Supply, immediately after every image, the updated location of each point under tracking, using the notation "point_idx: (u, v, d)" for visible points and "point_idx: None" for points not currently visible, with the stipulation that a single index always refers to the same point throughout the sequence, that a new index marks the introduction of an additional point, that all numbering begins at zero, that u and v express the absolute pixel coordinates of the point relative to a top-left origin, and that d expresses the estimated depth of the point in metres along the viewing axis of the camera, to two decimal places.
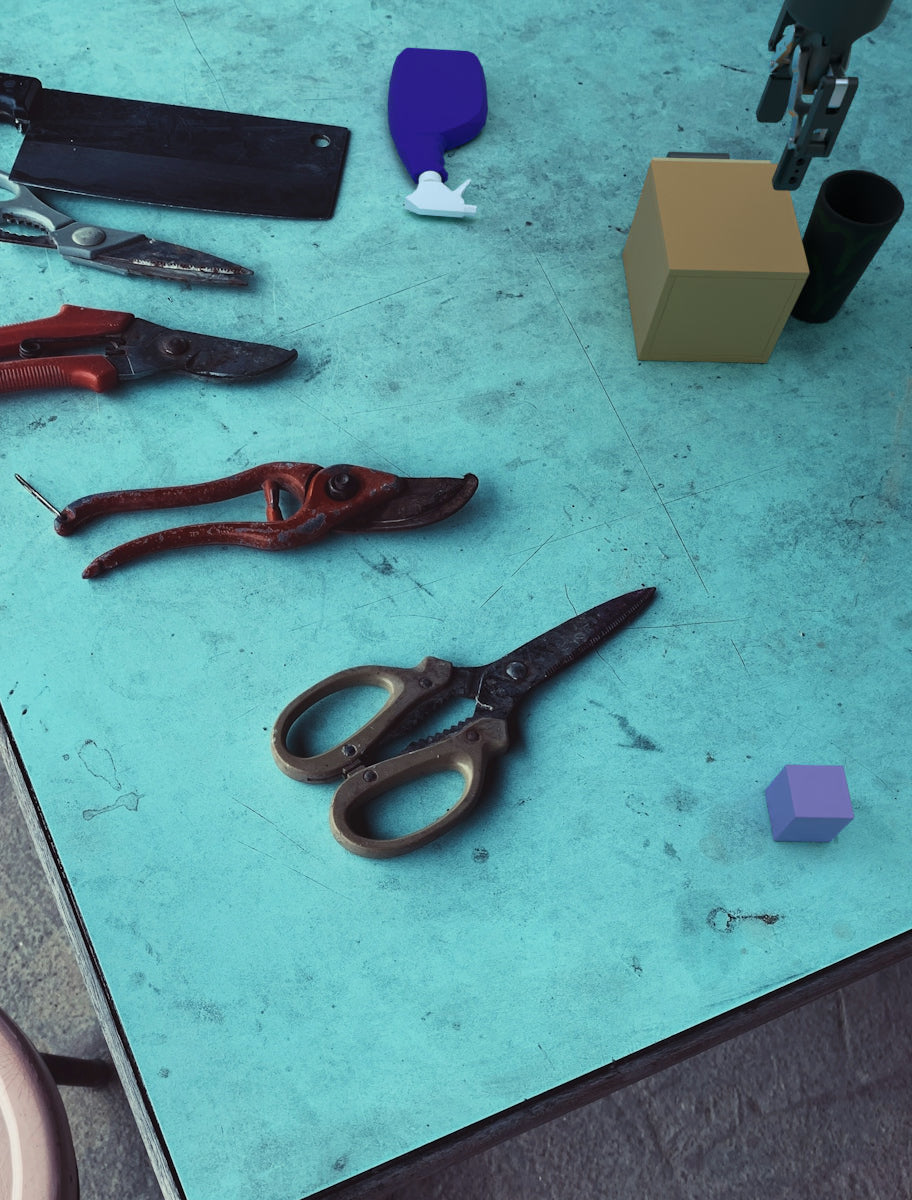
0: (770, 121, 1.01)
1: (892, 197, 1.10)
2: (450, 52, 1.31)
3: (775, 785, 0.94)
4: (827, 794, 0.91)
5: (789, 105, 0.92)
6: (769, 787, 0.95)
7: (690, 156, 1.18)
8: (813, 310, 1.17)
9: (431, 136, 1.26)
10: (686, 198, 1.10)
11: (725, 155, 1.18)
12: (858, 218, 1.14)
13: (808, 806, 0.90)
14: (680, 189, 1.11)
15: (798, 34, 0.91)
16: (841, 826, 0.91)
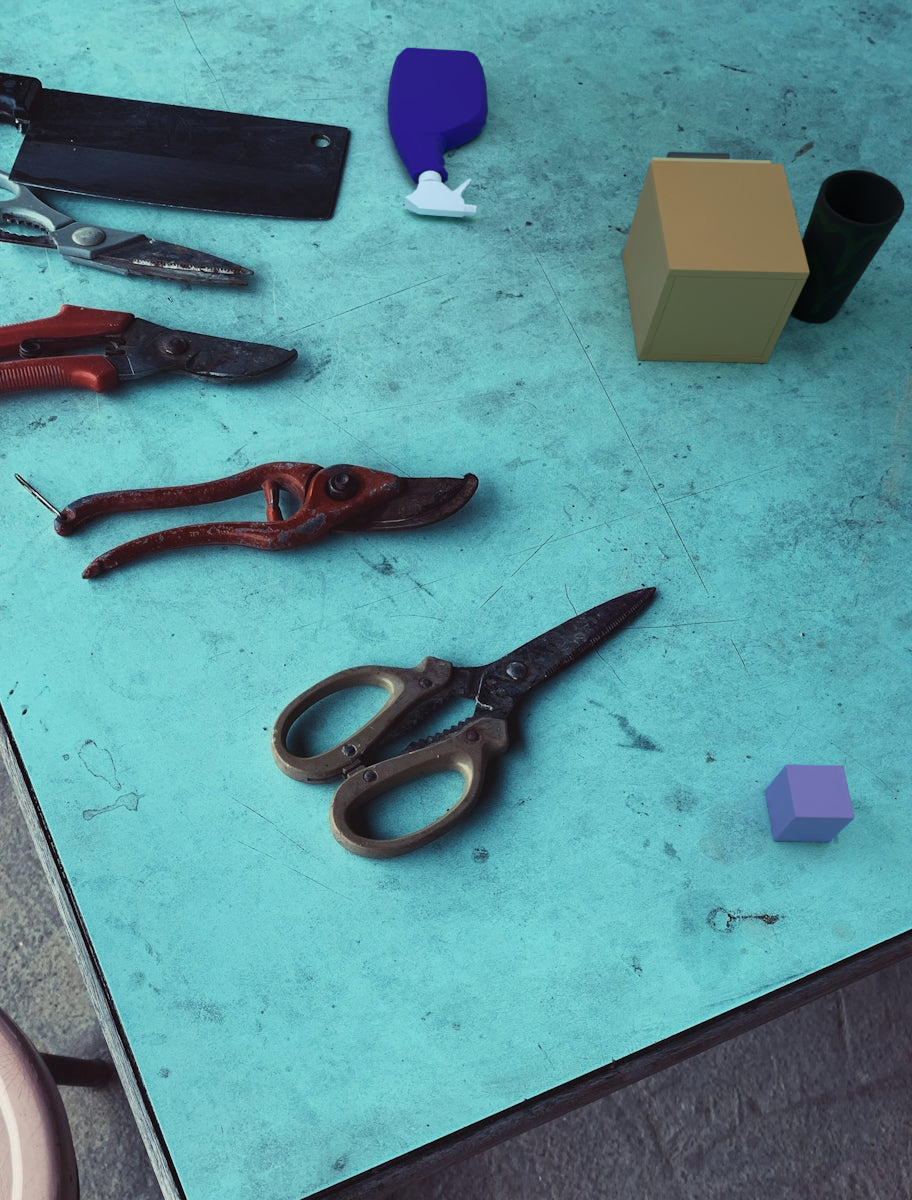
0: None
1: (892, 197, 1.10)
2: (450, 52, 1.31)
3: (775, 785, 0.94)
4: (827, 794, 0.91)
5: None
6: (769, 787, 0.95)
7: (690, 156, 1.18)
8: (813, 310, 1.17)
9: (431, 136, 1.26)
10: (686, 198, 1.10)
11: (725, 155, 1.18)
12: (858, 218, 1.14)
13: (808, 806, 0.90)
14: (680, 189, 1.11)
15: None
16: (841, 826, 0.91)
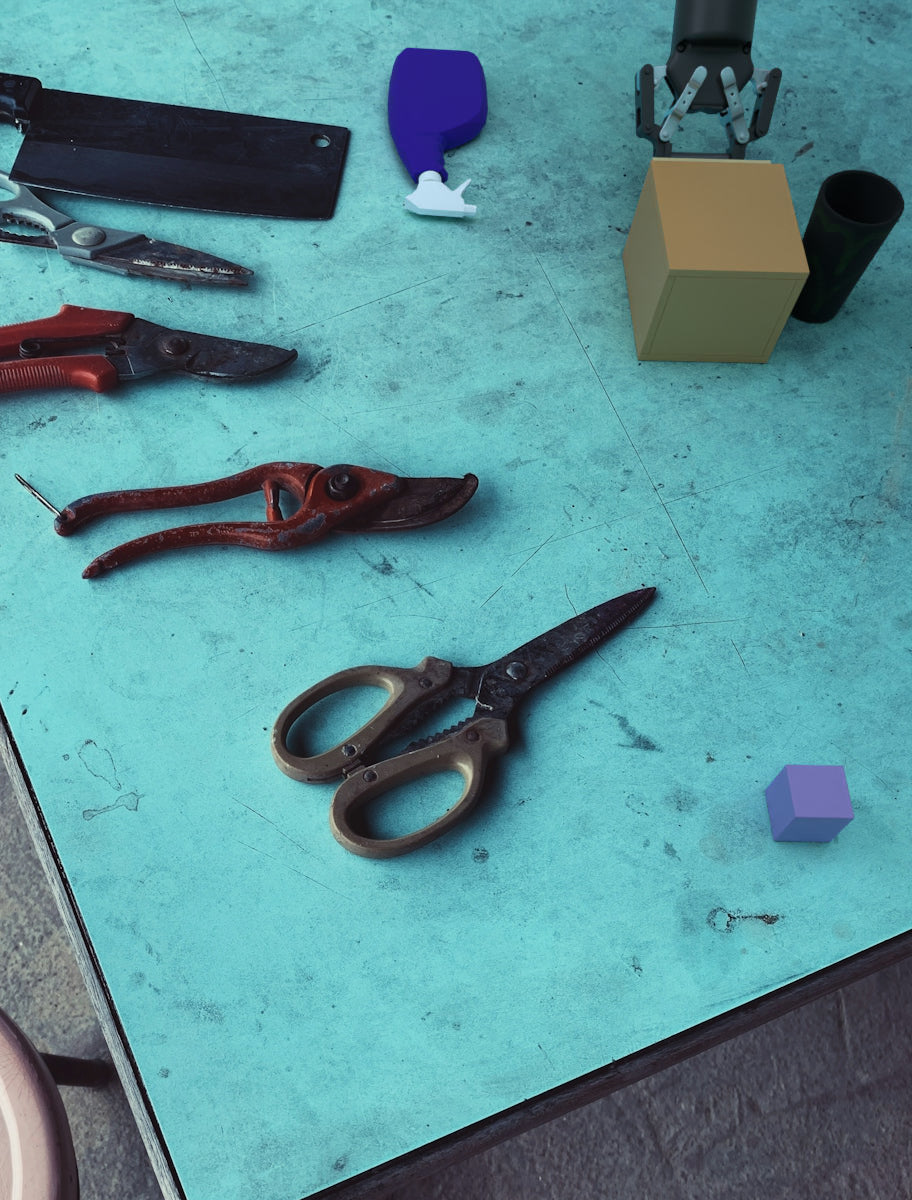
0: None
1: (892, 197, 1.10)
2: (450, 52, 1.31)
3: (775, 785, 0.94)
4: (827, 794, 0.91)
5: None
6: (769, 787, 0.95)
7: (690, 156, 1.18)
8: (813, 310, 1.17)
9: (431, 136, 1.26)
10: (686, 198, 1.10)
11: (725, 155, 1.18)
12: (858, 218, 1.14)
13: (808, 806, 0.90)
14: (680, 189, 1.11)
15: None
16: (841, 826, 0.91)
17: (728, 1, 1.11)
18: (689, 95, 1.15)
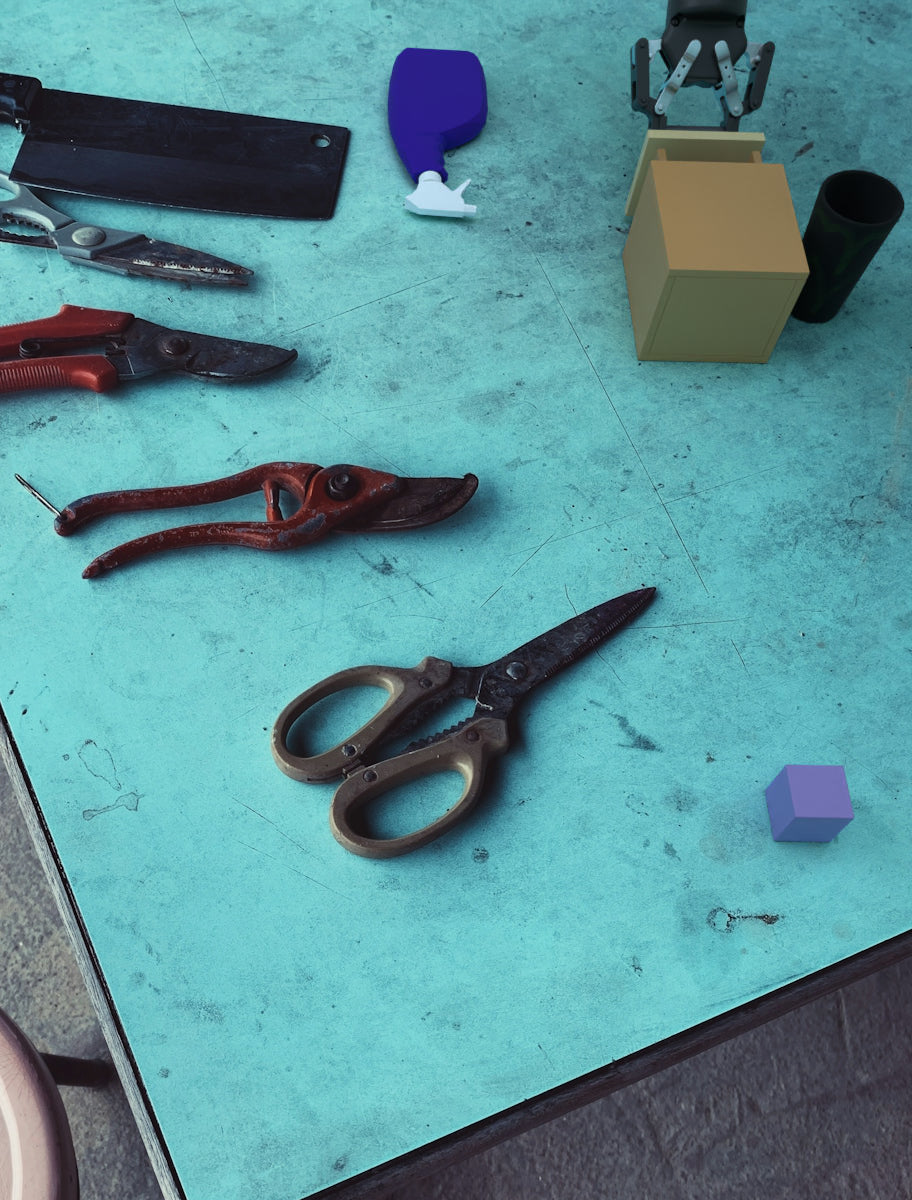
0: None
1: (892, 197, 1.10)
2: (450, 52, 1.31)
3: (775, 785, 0.94)
4: (827, 794, 0.91)
5: None
6: (769, 787, 0.95)
7: (685, 129, 1.20)
8: (813, 310, 1.17)
9: (431, 136, 1.26)
10: (686, 198, 1.10)
11: (720, 128, 1.20)
12: (858, 218, 1.14)
13: (808, 806, 0.90)
14: (680, 189, 1.11)
15: None
16: (841, 826, 0.91)
17: None
18: (684, 68, 1.17)
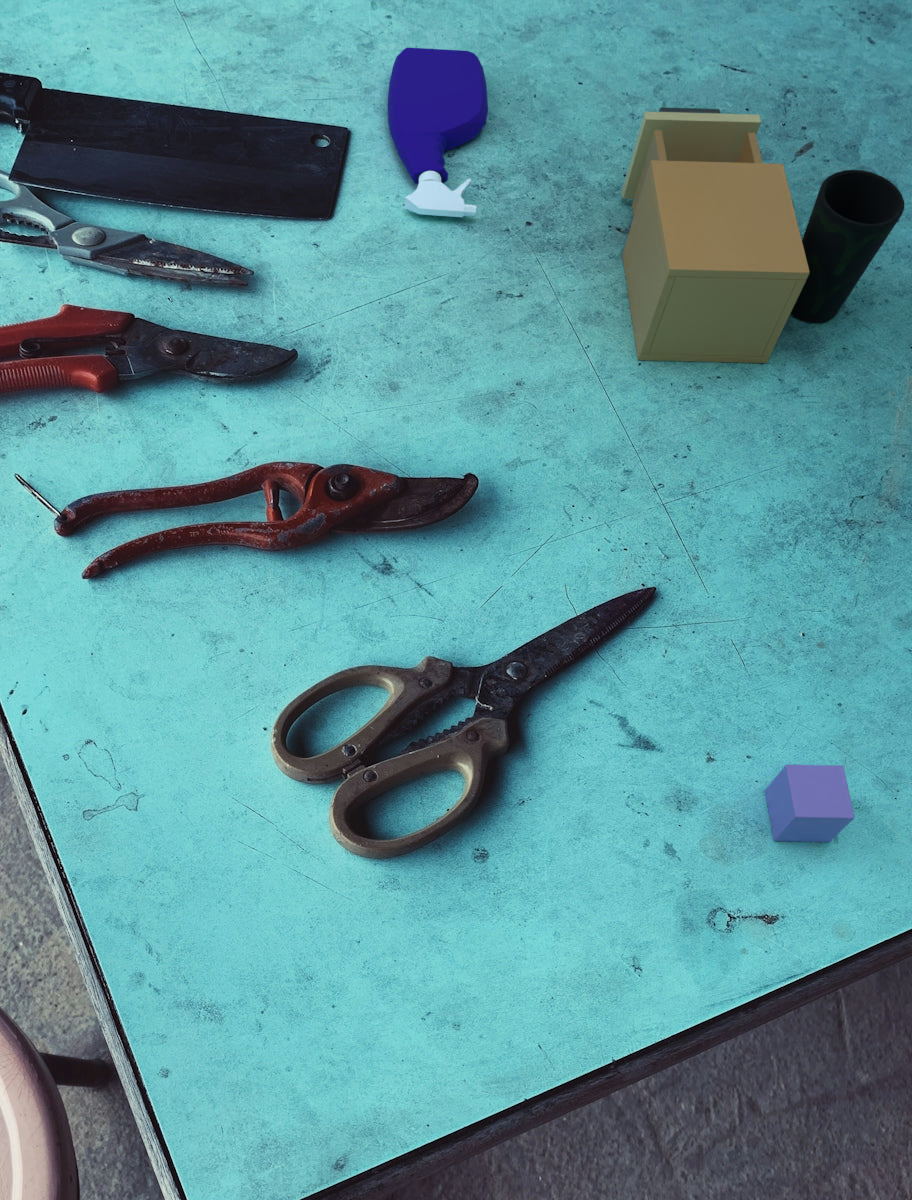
0: None
1: (892, 197, 1.10)
2: (450, 52, 1.31)
3: (775, 785, 0.94)
4: (827, 794, 0.91)
5: None
6: (769, 787, 0.95)
7: (681, 112, 1.21)
8: (813, 310, 1.17)
9: (431, 136, 1.26)
10: (686, 198, 1.10)
11: (716, 110, 1.21)
12: (858, 218, 1.14)
13: (808, 806, 0.90)
14: (680, 189, 1.11)
15: None
16: (841, 826, 0.91)
17: None
18: None
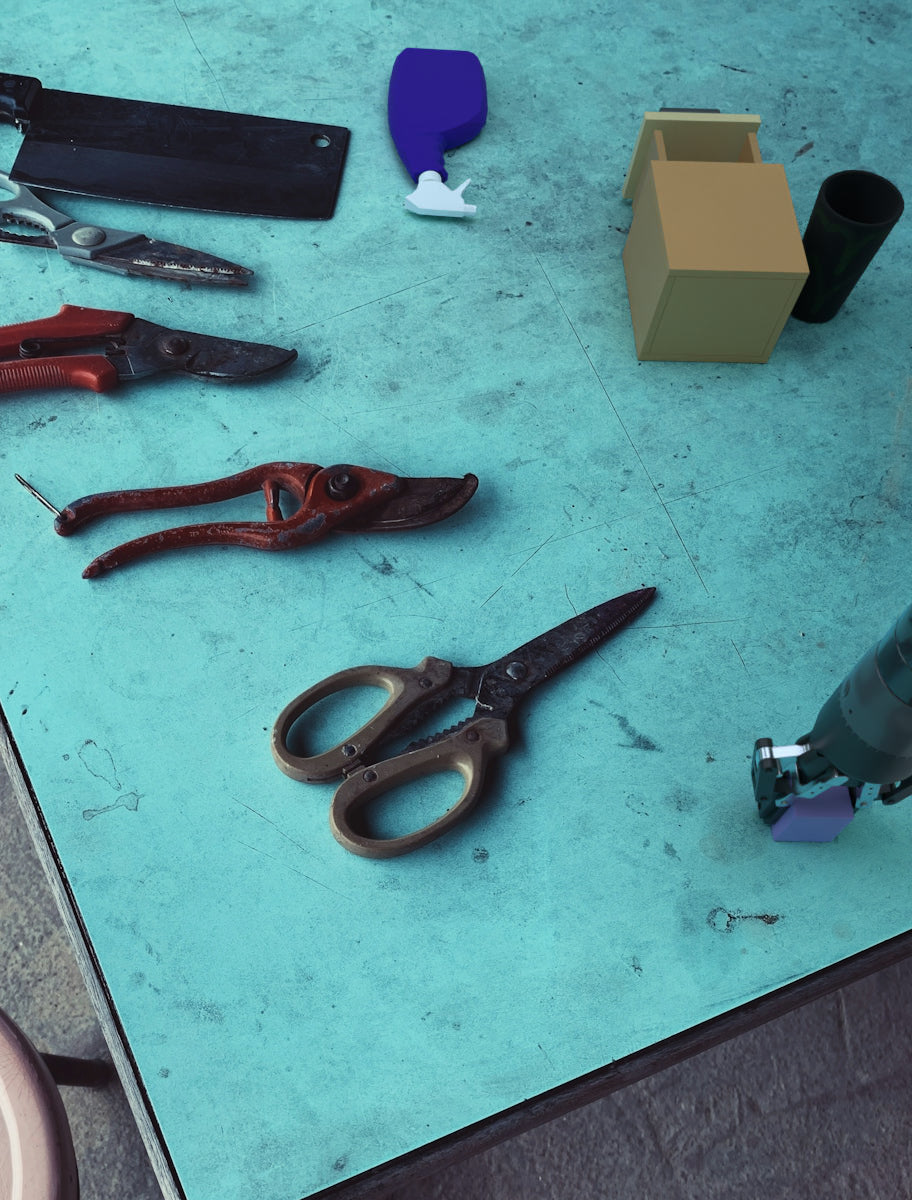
0: None
1: (892, 197, 1.10)
2: (450, 52, 1.31)
3: None
4: (827, 794, 0.91)
5: None
6: None
7: (681, 112, 1.21)
8: (813, 310, 1.17)
9: (431, 136, 1.26)
10: (686, 198, 1.10)
11: (716, 110, 1.21)
12: (858, 218, 1.14)
13: (808, 806, 0.90)
14: (680, 189, 1.11)
15: None
16: (841, 826, 0.91)
17: (898, 767, 0.79)
18: (820, 789, 0.87)
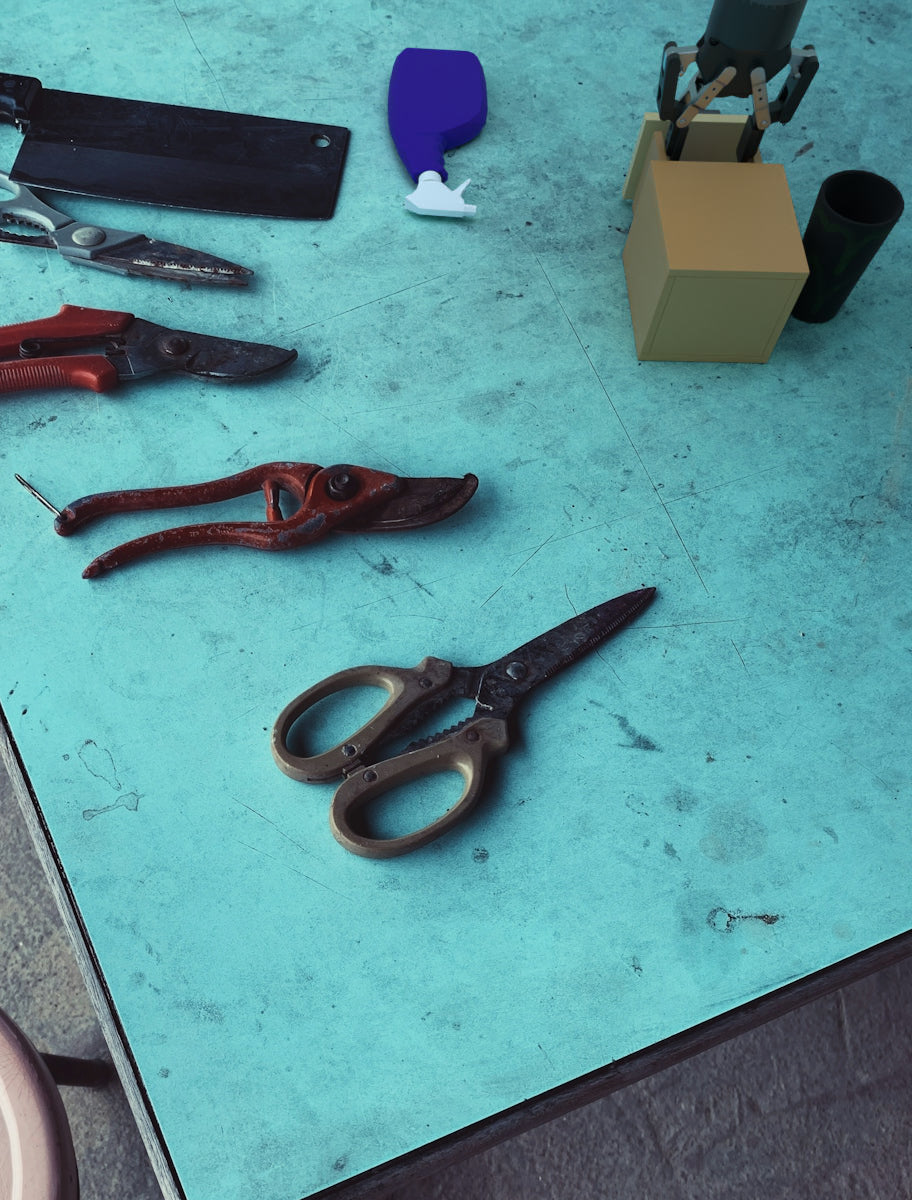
0: (737, 158, 1.16)
1: (892, 197, 1.10)
2: (450, 52, 1.31)
3: None
4: None
5: None
6: None
7: None
8: (813, 310, 1.17)
9: (431, 136, 1.26)
10: (686, 198, 1.10)
11: (716, 111, 1.21)
12: (858, 218, 1.14)
13: None
14: (680, 189, 1.11)
15: None
16: None
17: (768, 23, 1.01)
18: (713, 91, 1.08)
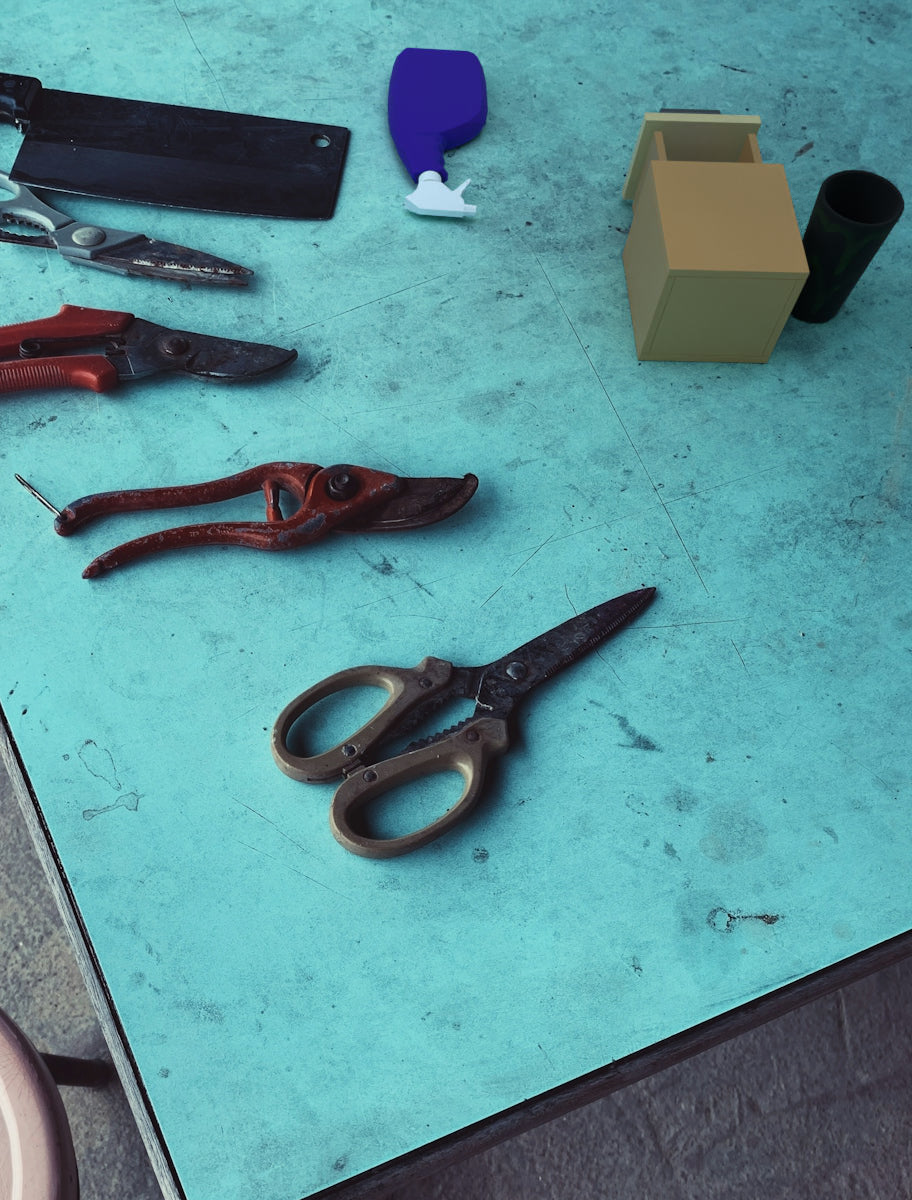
0: None
1: (892, 197, 1.10)
2: (450, 52, 1.31)
3: None
4: None
5: None
6: None
7: (681, 113, 1.21)
8: (813, 310, 1.17)
9: (431, 136, 1.26)
10: (686, 198, 1.10)
11: (716, 111, 1.21)
12: (858, 218, 1.14)
13: None
14: (680, 189, 1.11)
15: None
16: None
17: None
18: None
